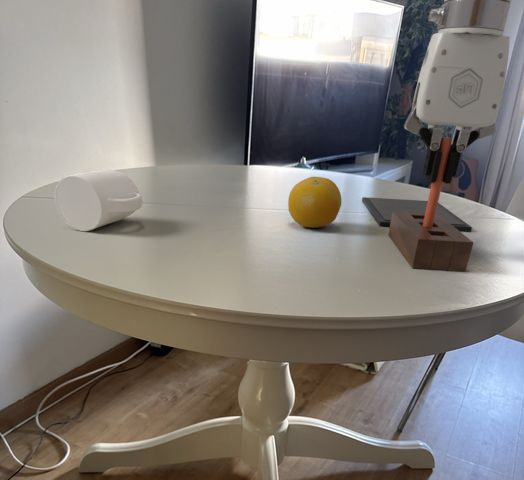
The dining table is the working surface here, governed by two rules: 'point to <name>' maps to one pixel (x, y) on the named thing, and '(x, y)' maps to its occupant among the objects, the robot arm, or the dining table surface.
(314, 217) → the fruit
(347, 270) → the dining table surface
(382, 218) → the tablet
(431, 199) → the stylus
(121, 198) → the mug
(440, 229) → the pen stand
